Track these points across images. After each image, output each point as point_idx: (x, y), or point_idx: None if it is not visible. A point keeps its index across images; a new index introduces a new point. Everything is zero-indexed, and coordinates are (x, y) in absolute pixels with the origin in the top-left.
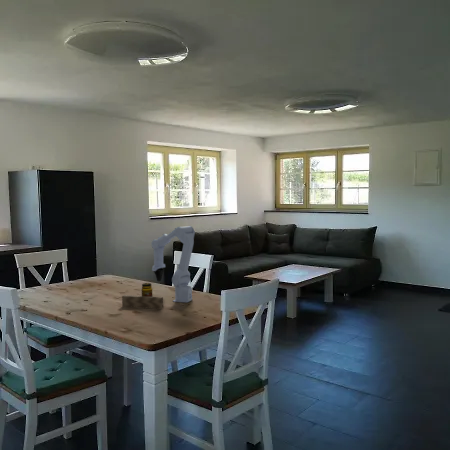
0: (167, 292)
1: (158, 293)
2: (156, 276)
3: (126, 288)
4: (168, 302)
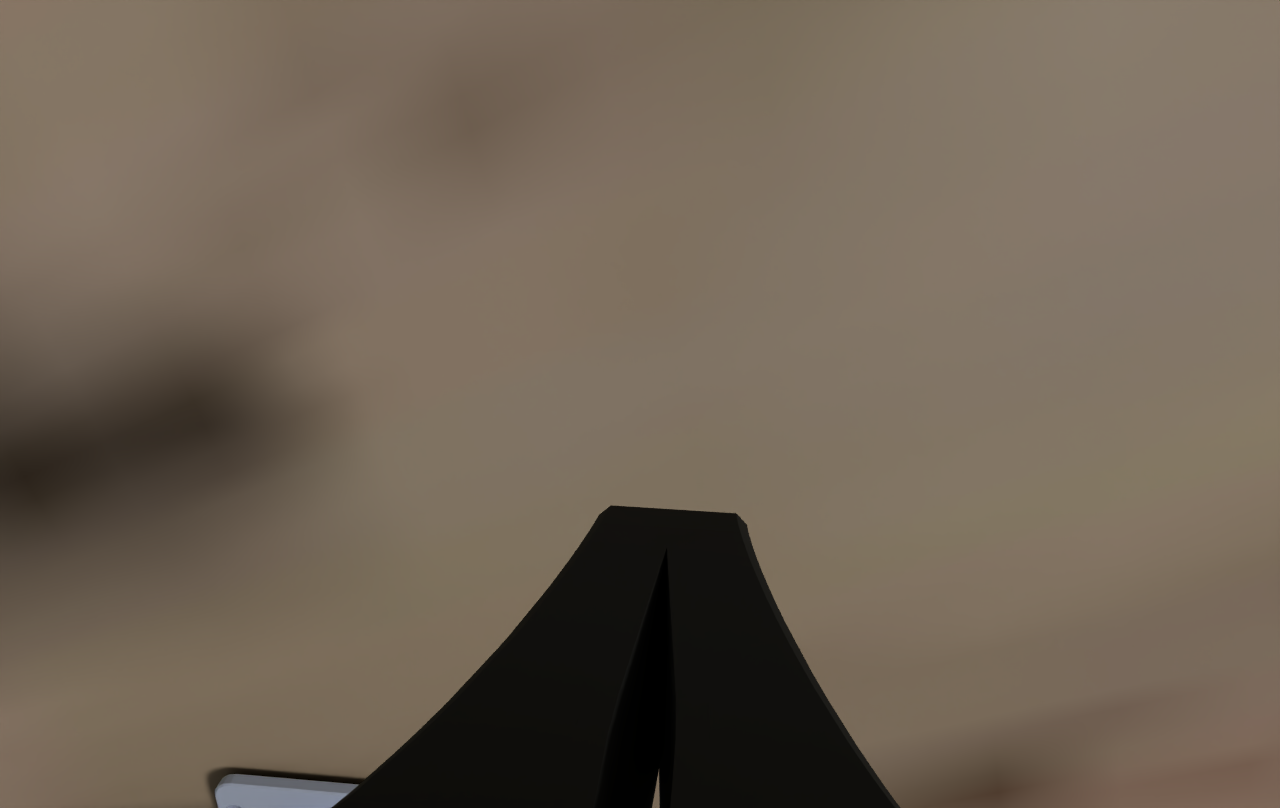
0: (1254, 337)
1: (1084, 81)
2: (488, 702)
3: None
4: (146, 710)
